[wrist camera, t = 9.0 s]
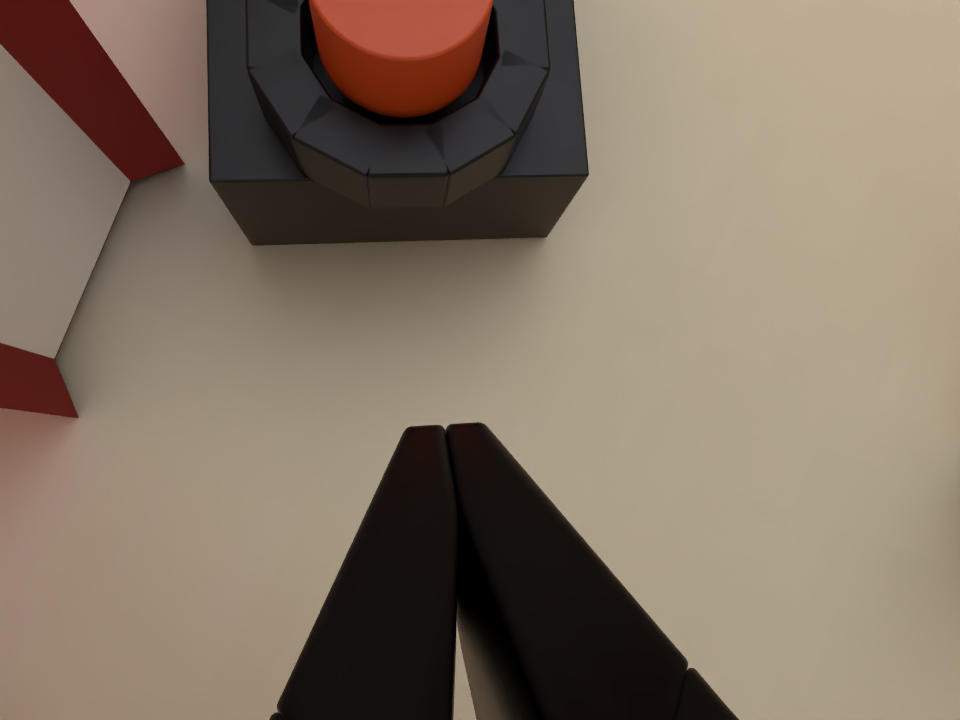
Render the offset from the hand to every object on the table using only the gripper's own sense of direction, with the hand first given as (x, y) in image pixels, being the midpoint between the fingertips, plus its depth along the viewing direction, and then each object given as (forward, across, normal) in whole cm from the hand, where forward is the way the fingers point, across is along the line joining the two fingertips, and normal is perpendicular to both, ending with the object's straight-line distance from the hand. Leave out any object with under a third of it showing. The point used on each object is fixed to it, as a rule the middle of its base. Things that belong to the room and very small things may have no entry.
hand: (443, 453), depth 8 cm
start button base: (+18, 0, +1) cm, 18 cm away
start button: (+11, 0, -2) cm, 11 cm away
